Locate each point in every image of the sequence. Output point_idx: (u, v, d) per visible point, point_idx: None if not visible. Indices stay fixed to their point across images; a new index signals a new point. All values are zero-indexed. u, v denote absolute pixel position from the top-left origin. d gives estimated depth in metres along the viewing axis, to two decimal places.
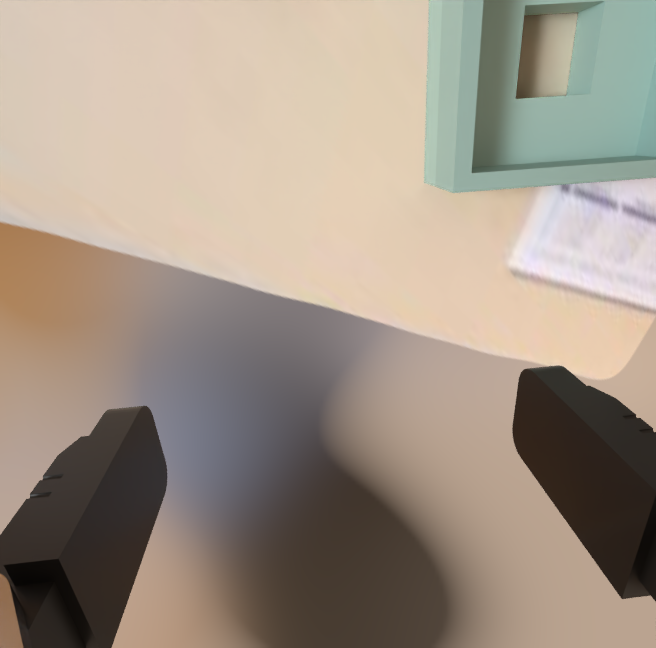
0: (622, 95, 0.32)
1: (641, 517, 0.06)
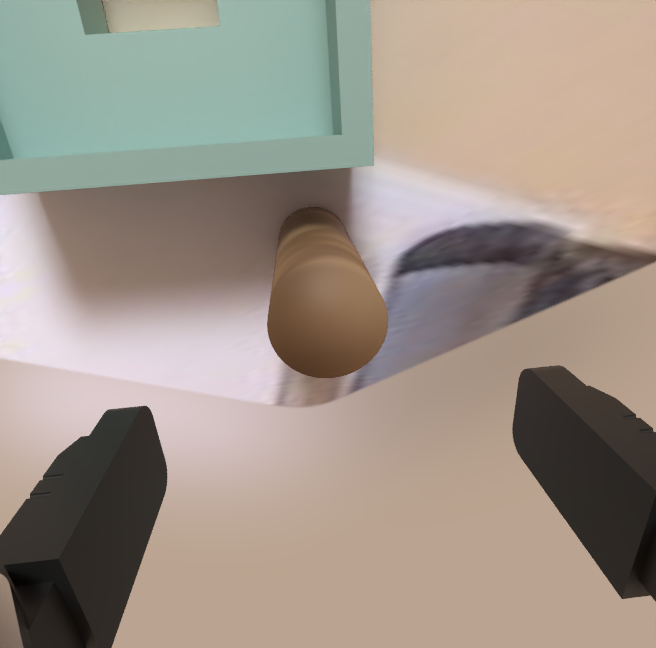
0: (96, 102, 0.19)
1: (641, 517, 0.06)
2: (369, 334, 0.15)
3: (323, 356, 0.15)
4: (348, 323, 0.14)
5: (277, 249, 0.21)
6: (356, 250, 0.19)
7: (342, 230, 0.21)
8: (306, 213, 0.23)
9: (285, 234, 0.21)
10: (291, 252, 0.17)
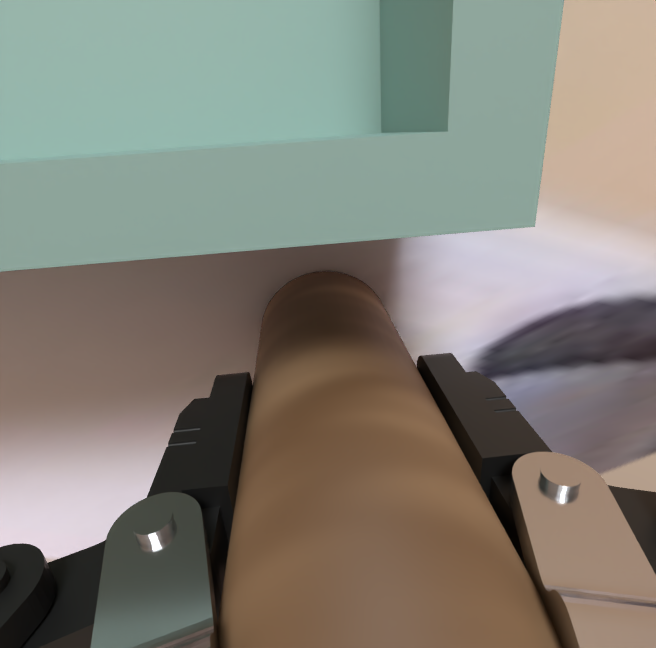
0: None
1: None
2: None
3: None
4: None
5: (253, 385, 0.10)
6: None
7: (399, 349, 0.09)
8: (315, 293, 0.11)
9: (270, 355, 0.09)
10: (280, 517, 0.05)
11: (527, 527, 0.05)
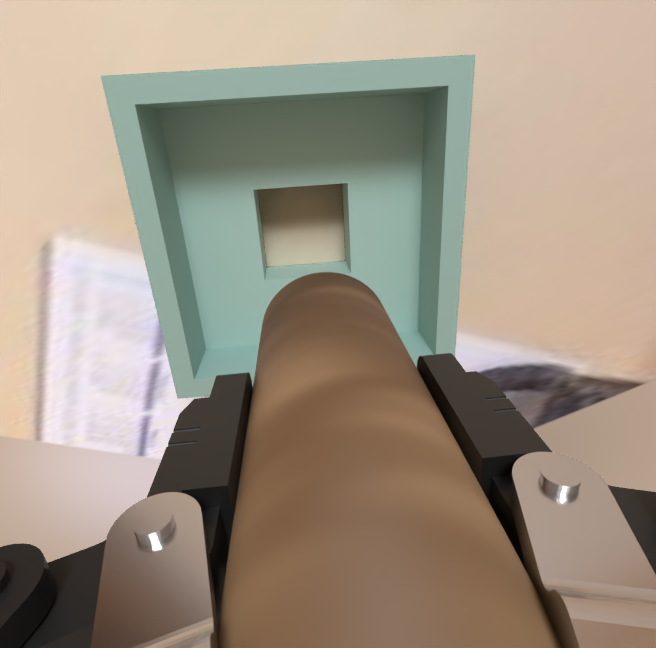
0: None
1: None
2: None
3: None
4: None
5: (253, 385, 0.10)
6: None
7: (399, 350, 0.09)
8: (315, 294, 0.11)
9: (271, 356, 0.09)
10: (280, 518, 0.05)
11: (528, 527, 0.05)
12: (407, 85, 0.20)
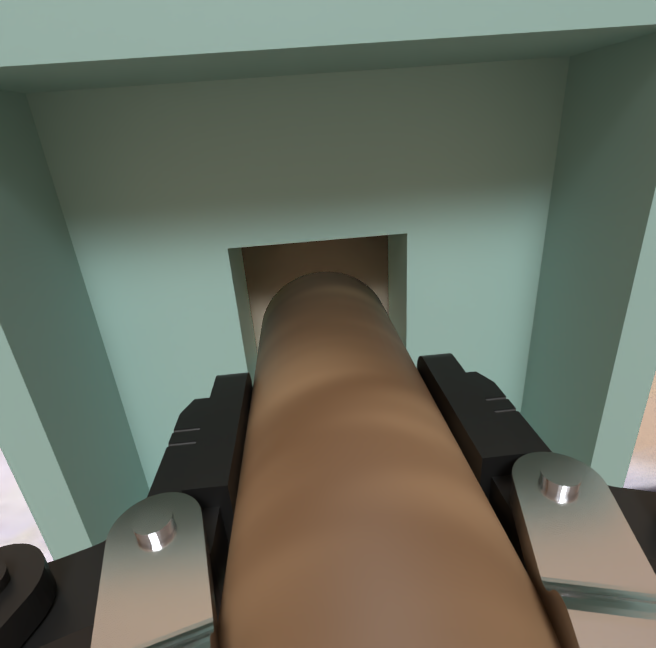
0: None
1: None
2: None
3: None
4: None
5: (253, 385, 0.10)
6: None
7: (399, 350, 0.09)
8: (315, 294, 0.11)
9: (271, 356, 0.09)
10: (280, 518, 0.05)
11: (527, 527, 0.05)
12: (595, 22, 0.08)
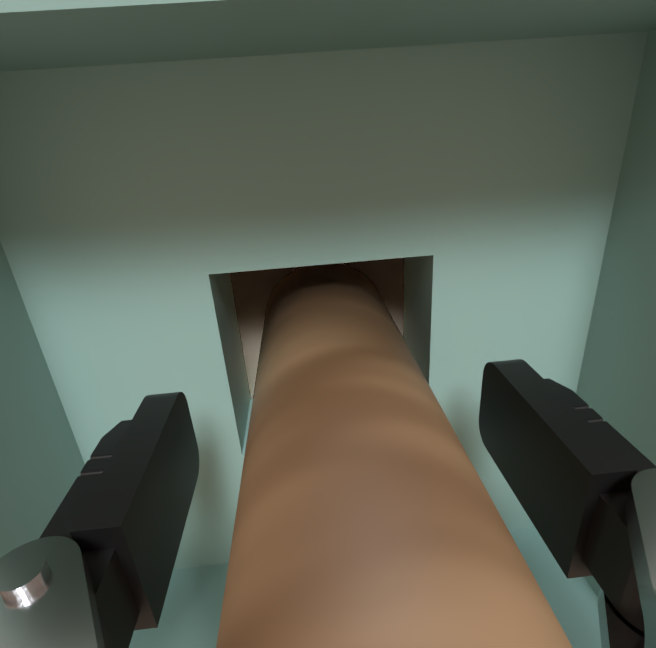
0: None
1: (580, 499, 0.06)
2: None
3: None
4: None
5: (258, 363, 0.11)
6: (435, 398, 0.08)
7: (391, 329, 0.10)
8: (315, 281, 0.12)
9: (274, 335, 0.10)
10: (284, 458, 0.06)
11: None
12: None
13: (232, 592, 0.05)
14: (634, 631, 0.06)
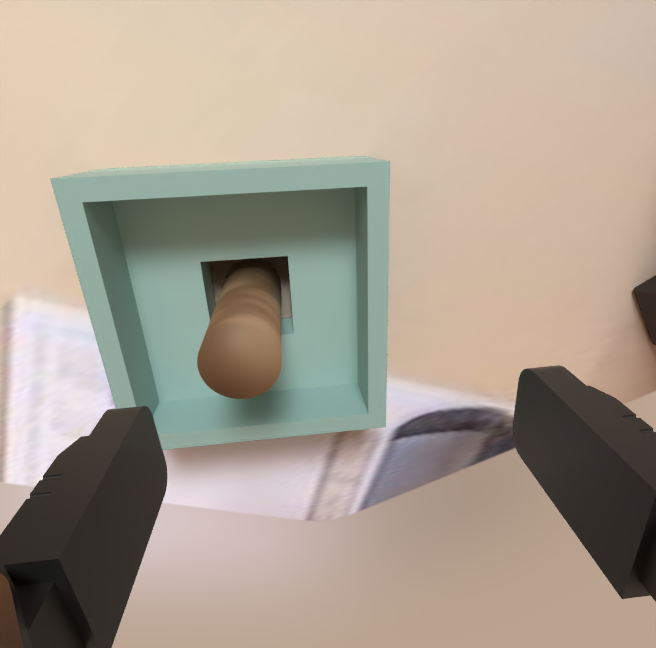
0: None
1: (641, 517, 0.06)
2: (269, 369, 0.21)
3: (237, 384, 0.21)
4: (254, 362, 0.21)
5: None
6: (274, 301, 0.25)
7: (268, 283, 0.27)
8: (244, 266, 0.29)
9: (225, 285, 0.27)
10: (221, 307, 0.23)
11: None
12: (330, 186, 0.23)
13: None
14: None
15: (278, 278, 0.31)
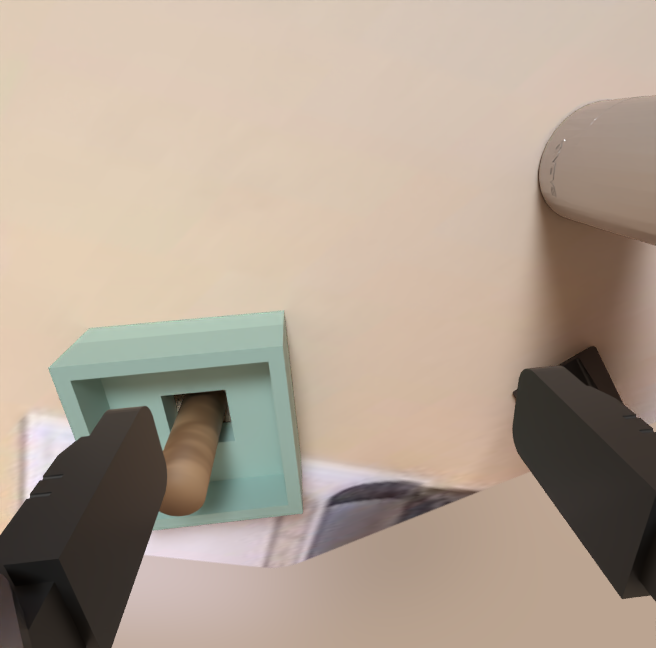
0: None
1: (641, 517, 0.06)
2: (197, 498, 0.31)
3: (176, 507, 0.31)
4: (186, 494, 0.31)
5: None
6: (210, 433, 0.35)
7: (210, 412, 0.37)
8: (195, 393, 0.39)
9: (178, 414, 0.37)
10: (168, 446, 0.33)
11: None
12: (242, 363, 0.32)
13: None
14: None
15: (224, 396, 0.41)
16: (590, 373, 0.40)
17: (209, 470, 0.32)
